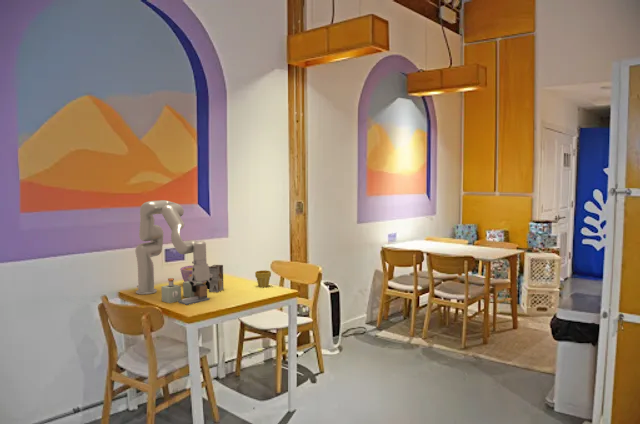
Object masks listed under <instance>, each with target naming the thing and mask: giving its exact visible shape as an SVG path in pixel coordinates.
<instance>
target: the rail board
mask: <svg viewBox="0 0 640 424" xmlns="http://www.w3.org/2000/svg"><path fill="white" fill-rule="evenodd" d="M210 300H211V299H210V297H207V298H203V299H199V296H194V297H190V298H188V297H184V298H181V300H180V301H177V303H178V304H182V305H184V304H185V305H184V306H190V305H193V303H194V304H198V303H202V302H203V303H204V302H207V301H210ZM189 304H190V305H189Z"/></svg>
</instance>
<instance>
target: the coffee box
mask: <svg viewBox="0 0 640 424" xmlns="http://www.w3.org/2000/svg"><path fill="white" fill-rule="evenodd" d="M209 273H210V274H213V276H212V280H211V282H210V289H208V291H209V293H219V292H220V291H222V290H224V265H223V264H213V265H211V266H210V267H209Z"/></svg>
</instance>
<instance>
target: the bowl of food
mask: <svg viewBox="0 0 640 424" xmlns="http://www.w3.org/2000/svg"><path fill="white" fill-rule="evenodd" d="M193 265H194V264H192V265H185V266H182V267H180V269H179V270H180V275H181V277H182V281H183V282H187V281H188V278H190V276H189V275H191V274H192V268H193ZM208 267H210V266H209V265H208ZM204 283H206V281H202V284H204Z"/></svg>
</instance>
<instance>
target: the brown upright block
mask: <svg viewBox="0 0 640 424" xmlns="http://www.w3.org/2000/svg"><path fill="white" fill-rule="evenodd" d="M194 296H199V299H203V298H208V289H207V285H205V284H204V283H203V284H197V285H196V292H194Z"/></svg>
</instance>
